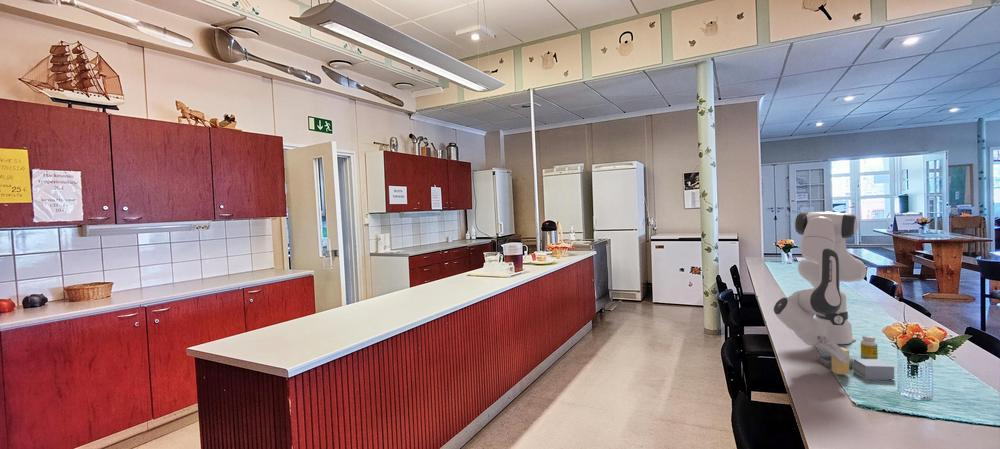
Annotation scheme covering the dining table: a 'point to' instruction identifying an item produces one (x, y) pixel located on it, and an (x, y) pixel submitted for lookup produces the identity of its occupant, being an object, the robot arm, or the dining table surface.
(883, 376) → the block
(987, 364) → the dining table surface
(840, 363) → the stub
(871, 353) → the supplement bottle
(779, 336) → the dining table surface
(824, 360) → the dish
